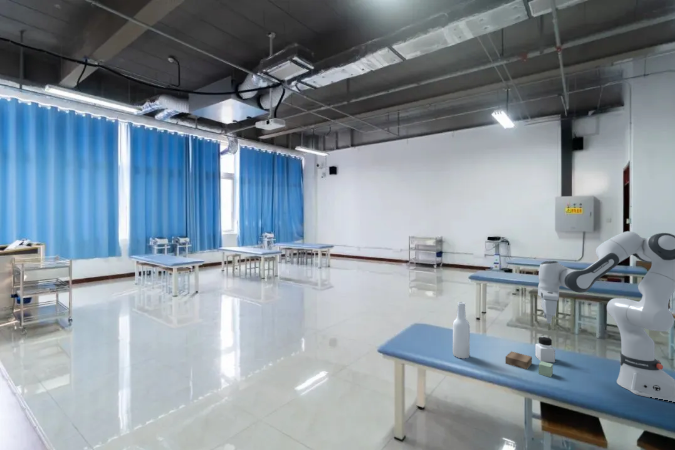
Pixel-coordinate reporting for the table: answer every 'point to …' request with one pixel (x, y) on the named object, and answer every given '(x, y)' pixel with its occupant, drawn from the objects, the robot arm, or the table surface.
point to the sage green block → (545, 369)
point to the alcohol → (461, 333)
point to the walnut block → (518, 360)
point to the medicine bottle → (545, 350)
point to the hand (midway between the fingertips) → (547, 320)
